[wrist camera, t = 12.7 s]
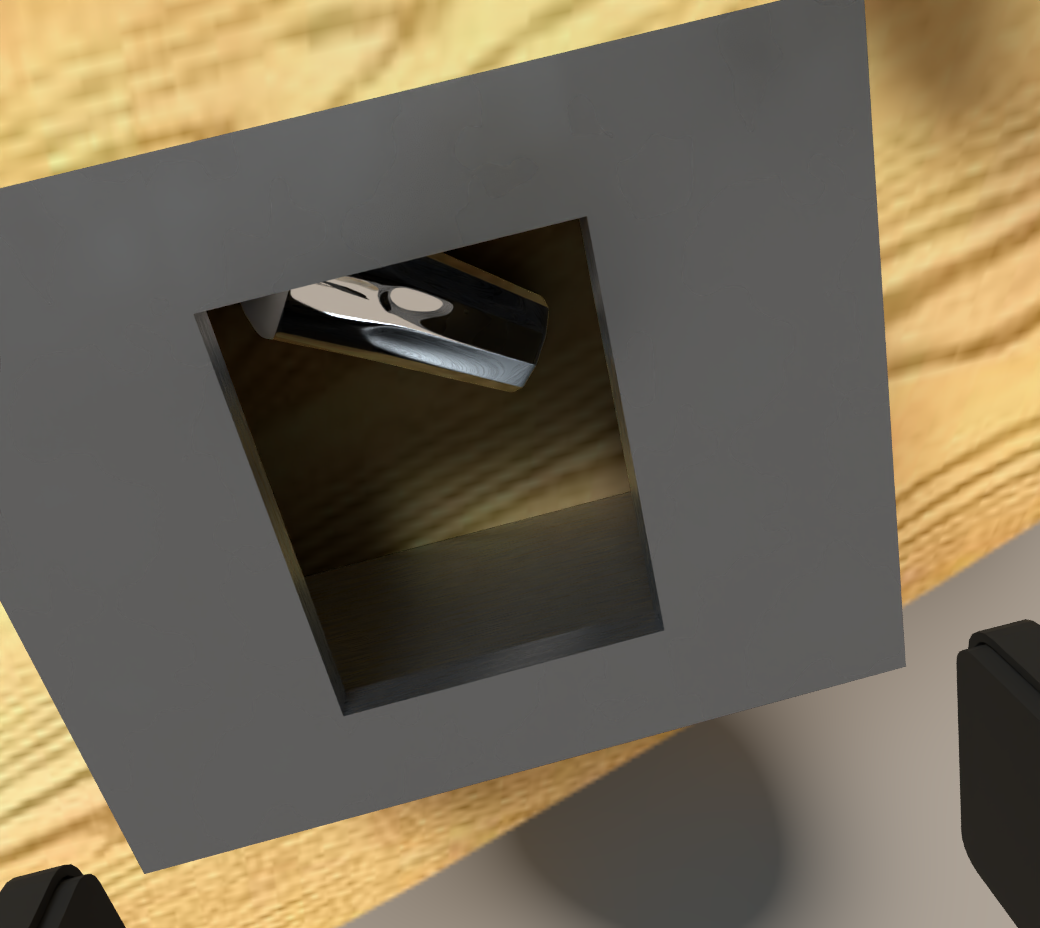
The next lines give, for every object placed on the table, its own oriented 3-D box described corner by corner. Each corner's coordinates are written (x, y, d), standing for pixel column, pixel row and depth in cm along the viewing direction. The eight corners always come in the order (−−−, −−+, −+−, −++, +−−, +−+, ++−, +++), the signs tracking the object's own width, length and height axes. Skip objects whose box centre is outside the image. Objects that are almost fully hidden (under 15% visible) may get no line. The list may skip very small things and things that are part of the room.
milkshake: (550, 396, 26) (199, 286, 23) (491, 420, 31) (198, 332, 28) (581, 253, 27) (246, 127, 23) (520, 299, 32) (237, 200, 28)
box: (676, 36, 28) (862, -20, 17) (738, 487, 34) (905, 666, 23) (49, 187, 27) (-193, 235, 16) (229, 621, 33) (144, 874, 22)
